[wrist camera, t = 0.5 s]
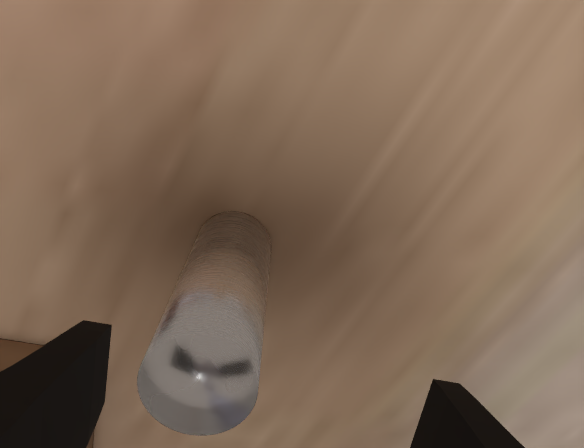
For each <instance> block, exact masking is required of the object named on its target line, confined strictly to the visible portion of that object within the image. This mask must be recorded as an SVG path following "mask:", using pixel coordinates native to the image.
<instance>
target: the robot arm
mask: <svg viewBox="0 0 584 448" xmlns="http://www.w3.org/2000/svg"><path fill="white" fill-rule="evenodd" d="M111 327H112V325H108V324H102V323H96V322H90V321H85V320H83V321H82V322H80V323H78V324H77V325H75V326H74V327H72V328H70V329H69V330H67V331H66V332H64V333H63V334H61V335H59V336H58V337H56V338H55V339H53V340H52V341H50V342H49V343H47V344H46V345H44V346H42V347H41V348H39V349H38V350H36V351H35V352H33V353H31V354H30V355H28V356H26V357H25V358H23V359H21V360H20V361H18V362H17V363H15V364H13V365H12V366H10V367H8V368H6V369H4V370H3V371H1V372H0V448H86V447H87V445H88V443H89V441H90V438H91V436H92V433H93V431H94V428H95V426H96V423H97V420H98V418H99V415H100V413H101V410H102V407H103V405H104V402H105V391H106V380H107V370H108V359H109V348H110V338H111ZM410 448H525V447H524V446H522V445H521V444H520V443H519V442H518V441H517V440H516V439H515V438H514V437H513V436H512V435H511V434H510V433H509V432H508V431H507V430H506V429H505V428H504V427H503V426H502V425H501V424H500V423H499V422H498V421H497V420H496V419H495V418H494V417H493V416H492V415H491V414H490V413H489V412H488V411H487V409H486V408H485V407H484V406H483V405H482V404H481V403H480V402H479V401H478V400H477V399H476V398H475V397H473V396H472V395H471V394H470V393H469V392H468V391H467V390H466V389H465V388H464V387H463V386H462V385H460V384H459V383H453V382H447V381H441V380H435V379H433V381H432V384H431V387H430V390H429V393H428V396H427V399H426V402H425V405H424V408H423V411H422V414H421V417H420V420H419V423H418V426H417V429H416V432H415V435H414V438H413V441H412V444H411V447H410Z"/></svg>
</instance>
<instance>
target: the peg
mask: <svg viewBox="0 0 584 448" xmlns="http://www.w3.org/2000/svg"><path fill="white" fill-rule="evenodd" d="M270 258H271V240H270V236H269V234H268V232H267V230H266V229H265V227H264V226H263V225H262V224H261V223H260V222H259V221H258V220H257V219H255V218H254V217H252V216H250V215H248V214H245V213H242V212H235V211H230V212H223V213H220V214H217V215H215V216H213V217H212V218H210V219H209V220H208V221H207V222H206V223H205V224H204V225H203V226H202V227H201V229H200V231H199V233H198V235H197V238H196V240H195V242H194V245H193V247H192V249H191V251H190V254H189V256H188V258H187V261H186V263H185V265H184V267H183V270H182V272H181V274H180V277H179V279H178V281H177V283H176V286H175V288H174V290H173V293H172V295H171V297H170V299H169V302H168V304H167V306H166V309H165V311H164V313H163V315H162V318H161V320H160V322H159V325H158V327H157V329H156V331H155V334H154V336H153V338H152V341H151V343H150V345H149V347H148V350H147V352H146V354H145V357H144V359H143V361H142V363H141V366H140V369H139V372H138V377H137V386H138V392H139V396H140V399H141V401H142V403H143V405H144V406H145V408H146V409H147V411H148V412H149V413H150V414H151V415H152V416H153V417H154V418H155V419H156V420H157V421H159V422H160V423H161V424H163V425H165V426H166V427H168V428H170V429H172V430H175V431H177V432H181V433H184V434H189V435H198V436H203V435H214V434H218V433H222V432H225V431H227V430H229V429H231V428H233V427H235V426H237V425H238V424H240V423H241V422H242V421H243V420H244V419H245V418H246V417H247V416H248V415H249V414H250V412H251V411H252V409H253V407H254V405H255V403H256V399H257V395H258V386H259V375H260V364H261V354H262V343H263V333H264V322H265V311H266V301H267V290H268V280H269V269H270Z"/></svg>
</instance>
